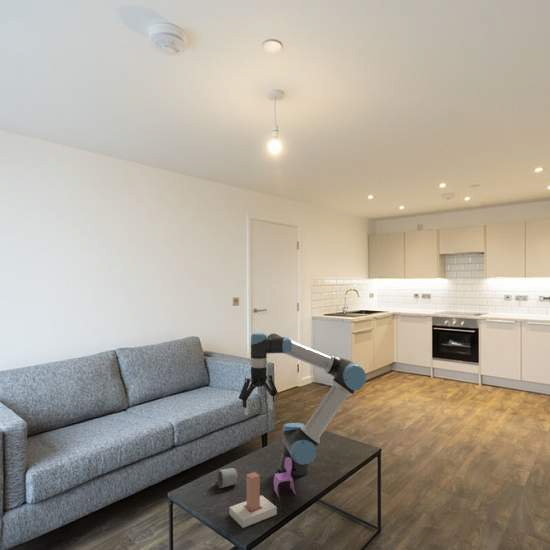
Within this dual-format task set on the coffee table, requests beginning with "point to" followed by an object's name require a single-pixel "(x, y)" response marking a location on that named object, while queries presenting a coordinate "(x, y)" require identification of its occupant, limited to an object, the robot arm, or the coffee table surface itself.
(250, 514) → the socket block
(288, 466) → the toy chair
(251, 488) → the peg
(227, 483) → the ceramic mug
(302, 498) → the coffee table surface
